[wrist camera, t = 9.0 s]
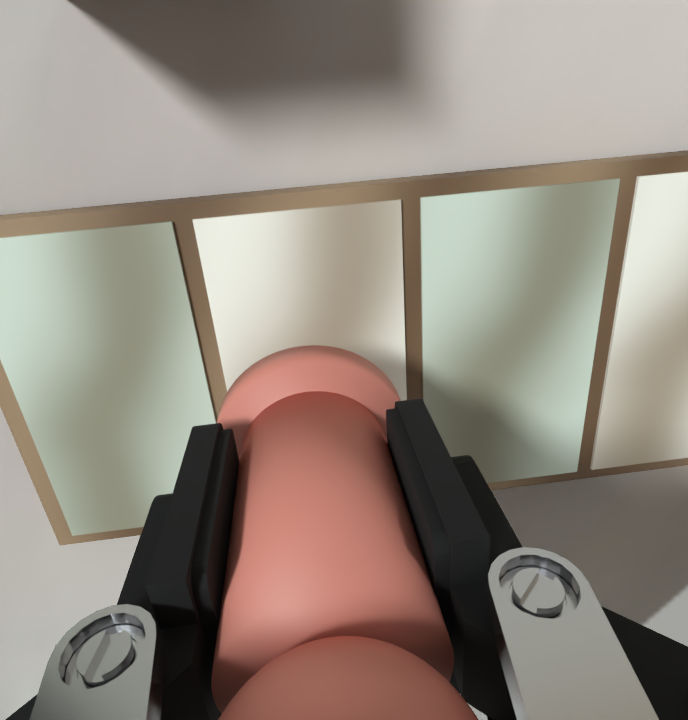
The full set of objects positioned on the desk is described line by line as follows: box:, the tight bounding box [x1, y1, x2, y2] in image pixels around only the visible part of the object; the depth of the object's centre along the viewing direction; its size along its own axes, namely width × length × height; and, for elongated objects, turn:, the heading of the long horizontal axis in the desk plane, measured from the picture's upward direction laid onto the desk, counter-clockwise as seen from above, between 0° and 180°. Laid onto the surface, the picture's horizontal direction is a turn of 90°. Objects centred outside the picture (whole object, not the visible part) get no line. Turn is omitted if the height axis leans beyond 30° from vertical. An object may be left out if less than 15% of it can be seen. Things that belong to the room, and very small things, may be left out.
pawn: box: [211, 345, 478, 720], centre depth 8 cm, size 4×4×9 cm
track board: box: [0, 151, 688, 545], centre depth 15 cm, size 23×10×1 cm, turn 94°
